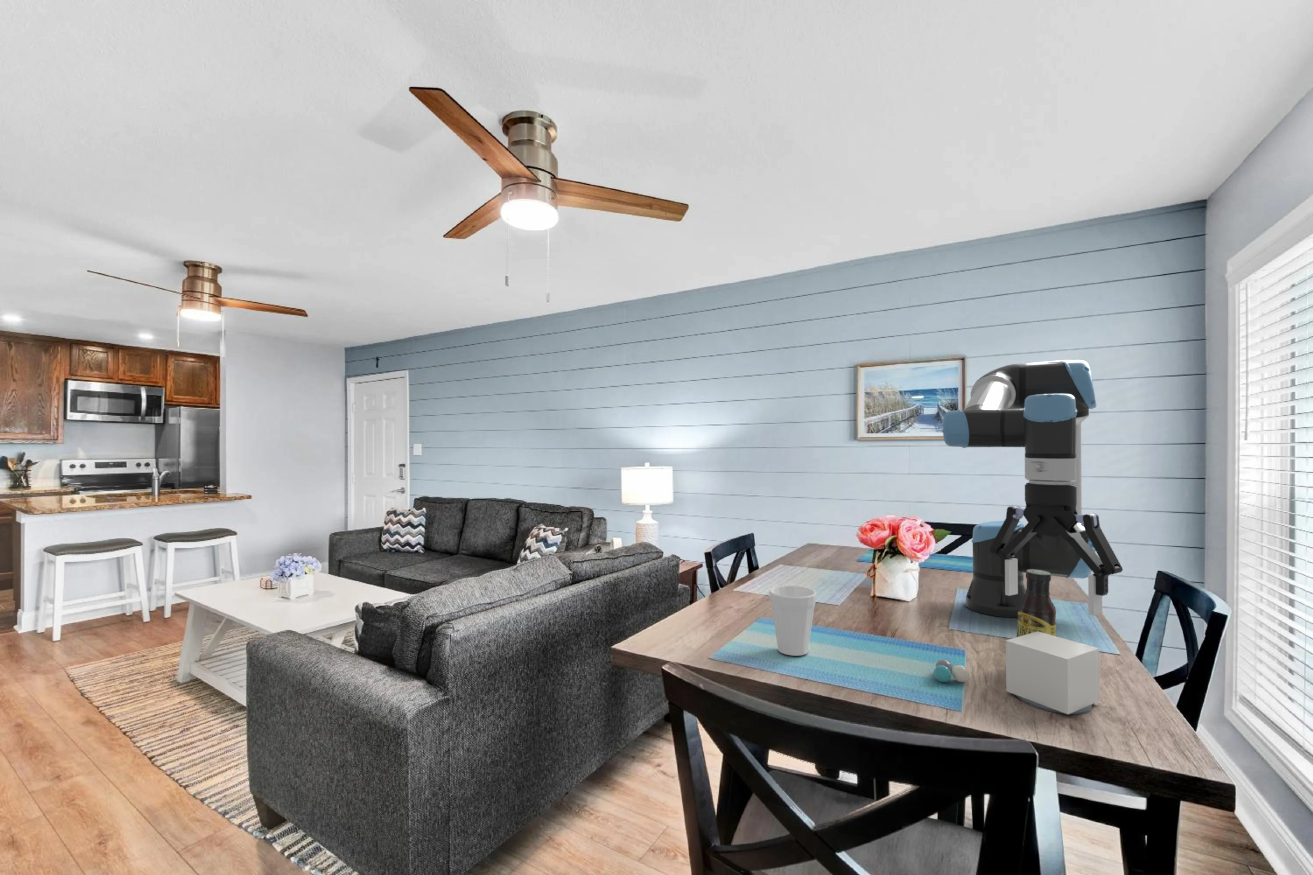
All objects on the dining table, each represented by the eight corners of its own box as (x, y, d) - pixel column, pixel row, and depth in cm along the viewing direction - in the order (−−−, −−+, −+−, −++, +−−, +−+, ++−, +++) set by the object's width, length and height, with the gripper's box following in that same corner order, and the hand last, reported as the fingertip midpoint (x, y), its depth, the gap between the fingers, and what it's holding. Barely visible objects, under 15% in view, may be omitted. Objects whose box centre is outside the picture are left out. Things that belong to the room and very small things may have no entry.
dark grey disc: (1036, 681, 108) (1036, 677, 108) (1104, 704, 99) (1104, 701, 99) (1001, 693, 103) (1001, 690, 103) (1069, 720, 93) (1069, 716, 93)
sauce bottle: (1008, 669, 114) (1008, 568, 114) (1031, 664, 116) (1030, 566, 116) (1041, 682, 108) (1040, 576, 108) (1064, 677, 110) (1063, 573, 110)
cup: (759, 648, 126) (759, 588, 126) (795, 640, 131) (795, 583, 131) (790, 664, 117) (789, 599, 117) (827, 655, 122) (826, 593, 122)
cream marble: (958, 677, 110) (957, 661, 110) (973, 682, 108) (972, 666, 108) (947, 680, 109) (947, 664, 109) (962, 686, 106) (962, 669, 106)
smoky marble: (942, 670, 113) (942, 655, 113) (956, 676, 111) (956, 660, 111) (932, 674, 112) (932, 658, 112) (946, 679, 109) (946, 663, 109)
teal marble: (940, 676, 110) (940, 661, 110) (955, 682, 108) (955, 666, 108) (930, 680, 109) (930, 664, 109) (944, 686, 106) (944, 669, 106)
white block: (1037, 679, 108) (1037, 631, 108) (1099, 700, 99) (1099, 648, 99) (1006, 690, 103) (1005, 640, 103) (1068, 714, 94) (1067, 659, 94)
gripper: (968, 478, 110) (969, 589, 110) (1124, 488, 88) (1125, 627, 88) (992, 477, 114) (993, 584, 114) (1147, 486, 92) (1148, 619, 92)
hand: (1051, 603), depth 101 cm, fingers open, 13 cm apart
